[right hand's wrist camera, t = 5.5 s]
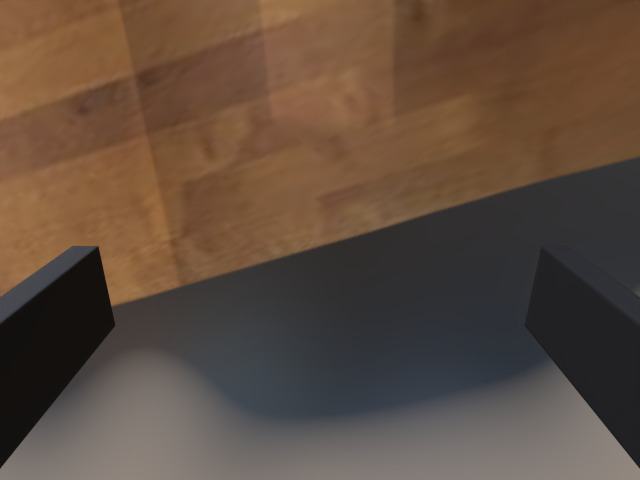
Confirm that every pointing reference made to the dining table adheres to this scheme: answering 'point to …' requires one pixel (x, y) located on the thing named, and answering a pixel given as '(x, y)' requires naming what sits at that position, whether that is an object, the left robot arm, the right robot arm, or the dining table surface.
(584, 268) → the right robot arm
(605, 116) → the dining table surface
